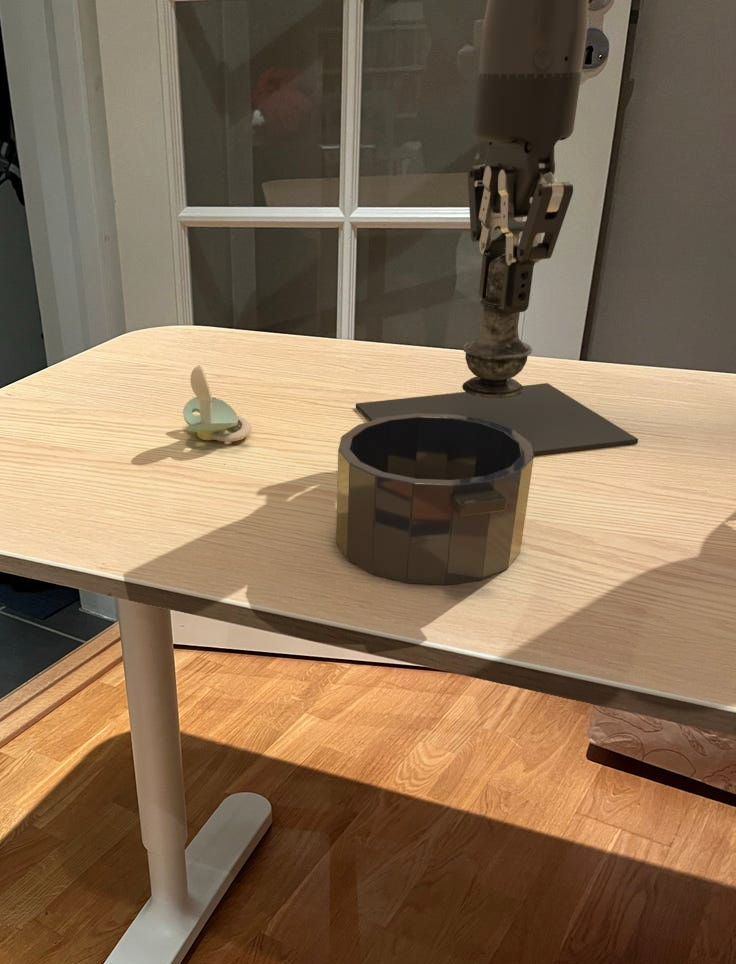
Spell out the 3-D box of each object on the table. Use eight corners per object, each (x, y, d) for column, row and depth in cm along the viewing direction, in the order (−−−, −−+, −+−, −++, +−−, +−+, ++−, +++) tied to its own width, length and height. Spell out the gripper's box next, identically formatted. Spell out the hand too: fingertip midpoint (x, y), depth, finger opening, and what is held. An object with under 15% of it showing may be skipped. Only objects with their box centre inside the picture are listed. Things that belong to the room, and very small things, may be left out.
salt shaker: (459, 376, 86) (473, 236, 79) (525, 379, 85) (544, 237, 78) (457, 397, 81) (471, 250, 74) (527, 400, 80) (548, 251, 73)
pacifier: (245, 419, 88) (182, 421, 87) (245, 352, 84) (179, 354, 84) (256, 447, 82) (187, 450, 81) (256, 376, 78) (185, 379, 78)
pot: (464, 486, 73) (473, 399, 69) (563, 580, 60) (581, 480, 57) (310, 506, 71) (310, 417, 67) (379, 607, 58) (384, 504, 54)
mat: (547, 386, 93) (547, 382, 93) (637, 443, 80) (638, 438, 80) (355, 407, 89) (355, 403, 89) (417, 470, 76) (417, 465, 76)
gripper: (627, 67, 64) (586, 322, 74) (531, 63, 76) (505, 284, 85) (527, 71, 63) (498, 330, 72) (445, 66, 75) (428, 291, 84)
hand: (502, 304), depth 79 cm, fingers closed on salt shaker, 3 cm apart
